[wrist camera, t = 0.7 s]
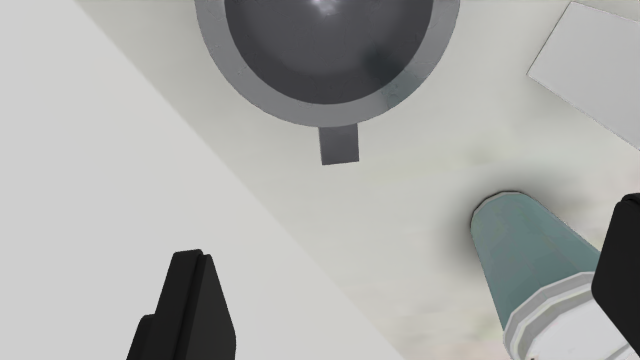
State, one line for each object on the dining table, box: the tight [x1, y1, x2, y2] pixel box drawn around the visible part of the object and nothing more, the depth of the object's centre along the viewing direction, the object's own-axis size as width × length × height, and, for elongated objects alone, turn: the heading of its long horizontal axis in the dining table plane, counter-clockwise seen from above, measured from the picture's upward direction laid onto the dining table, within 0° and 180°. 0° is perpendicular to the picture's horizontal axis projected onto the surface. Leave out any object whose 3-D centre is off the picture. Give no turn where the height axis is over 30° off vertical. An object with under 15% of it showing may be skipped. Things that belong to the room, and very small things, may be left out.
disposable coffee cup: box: [470, 192, 635, 360], centre depth 37 cm, size 11×11×15 cm
